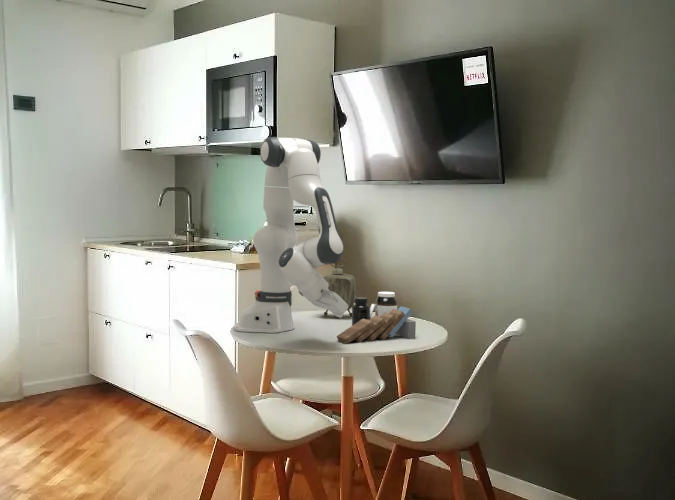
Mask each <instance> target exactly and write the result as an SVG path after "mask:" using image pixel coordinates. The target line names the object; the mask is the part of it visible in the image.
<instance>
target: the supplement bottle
mask: <svg viewBox="0 0 675 500" xmlns="http://www.w3.org/2000/svg"><path fill="white" fill-rule="evenodd" d="M368 303H369V302H368V297H365V296H363V297H361V296H359V297H357V296H356V298H355V303H354V305H353V307H352V308H351V313H352V317H351V326H353V325H354V324H356V323H357V322H359V321H360V320H362V319H363V318H364V319H367V320H369V319H371V318H370V307H371V306H369V304H368Z"/></svg>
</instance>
